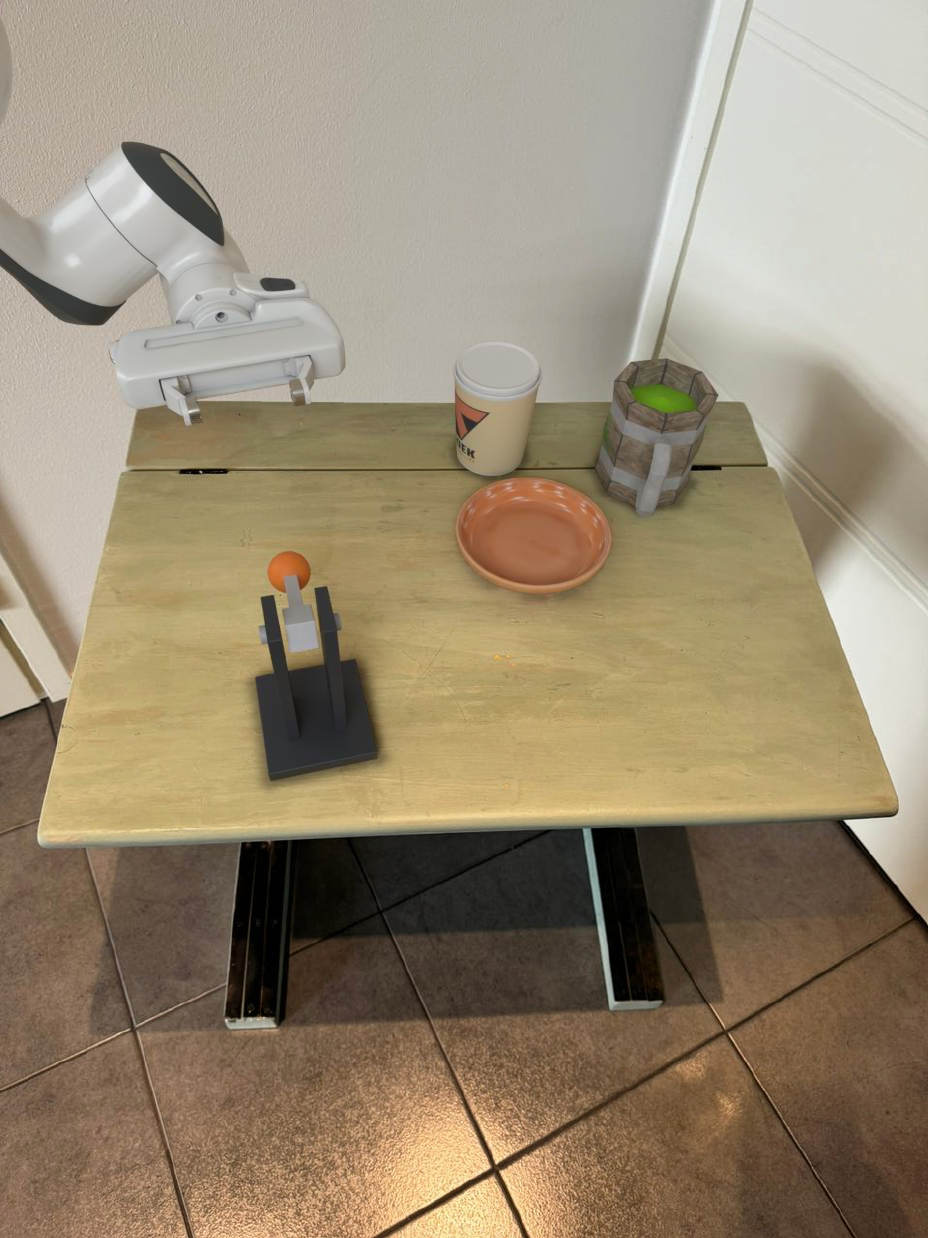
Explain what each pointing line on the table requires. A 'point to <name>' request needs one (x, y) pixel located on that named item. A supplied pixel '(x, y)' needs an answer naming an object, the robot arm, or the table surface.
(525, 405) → the coffee cup
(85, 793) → the table surface
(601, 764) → the table surface
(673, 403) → the mug
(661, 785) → the table surface
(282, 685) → the switch base
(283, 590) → the lever
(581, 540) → the saucer
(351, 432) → the table surface
